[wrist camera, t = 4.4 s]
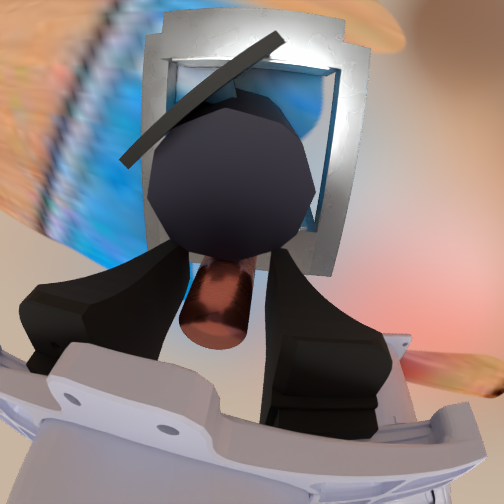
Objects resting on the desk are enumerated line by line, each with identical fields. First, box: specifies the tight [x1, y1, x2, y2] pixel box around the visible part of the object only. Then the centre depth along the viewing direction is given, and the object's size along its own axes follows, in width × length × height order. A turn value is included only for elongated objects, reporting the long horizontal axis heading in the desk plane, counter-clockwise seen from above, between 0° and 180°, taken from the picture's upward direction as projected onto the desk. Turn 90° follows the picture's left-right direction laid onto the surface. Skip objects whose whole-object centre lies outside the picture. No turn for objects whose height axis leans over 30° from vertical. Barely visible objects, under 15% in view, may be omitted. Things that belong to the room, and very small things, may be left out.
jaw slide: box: [159, 206, 317, 350], centre depth 14 cm, size 3×8×10 cm, turn 86°
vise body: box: [141, 8, 371, 277], centre depth 14 cm, size 14×12×4 cm
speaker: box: [119, 30, 316, 262], centre depth 12 cm, size 8×6×10 cm
